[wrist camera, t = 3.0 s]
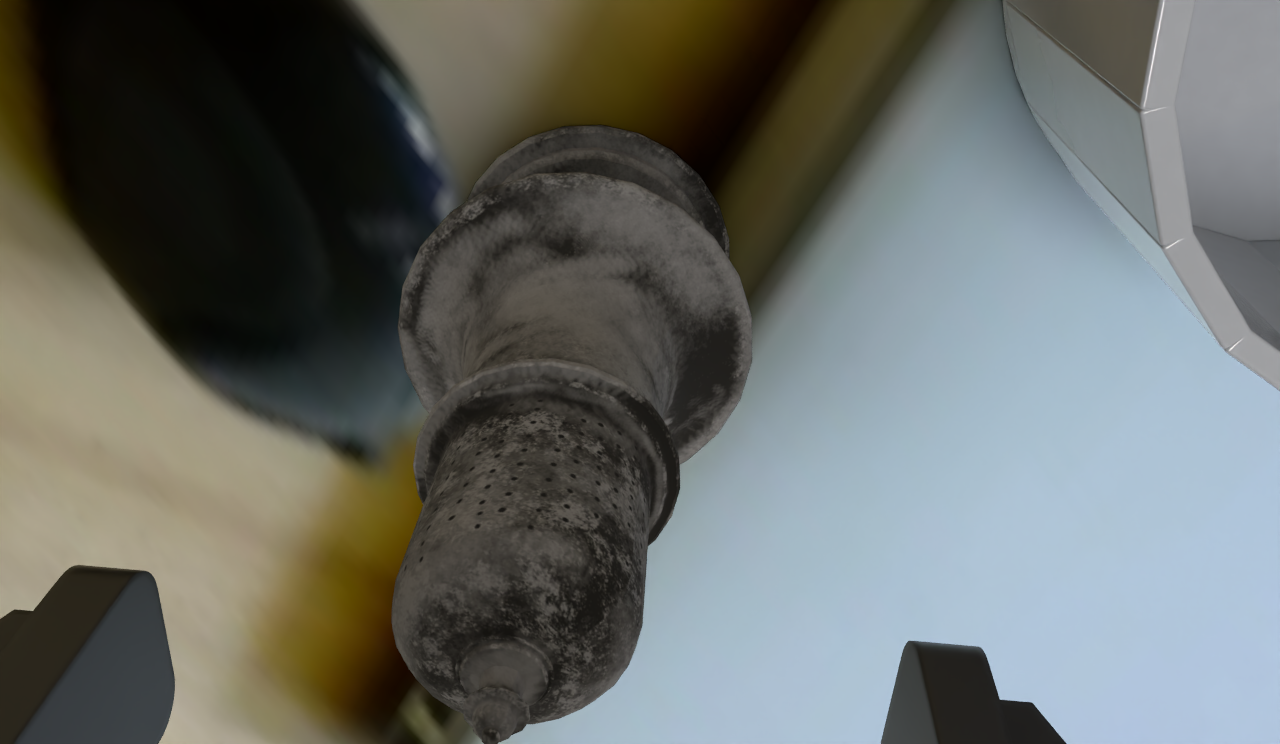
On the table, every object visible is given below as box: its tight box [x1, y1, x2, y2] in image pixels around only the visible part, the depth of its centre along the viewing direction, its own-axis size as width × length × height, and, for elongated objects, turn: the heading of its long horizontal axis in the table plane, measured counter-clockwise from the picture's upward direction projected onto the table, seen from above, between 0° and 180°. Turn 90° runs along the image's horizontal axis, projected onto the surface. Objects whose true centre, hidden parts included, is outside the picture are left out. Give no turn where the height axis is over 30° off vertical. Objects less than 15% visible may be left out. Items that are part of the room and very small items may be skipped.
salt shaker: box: [392, 125, 752, 744], centre depth 16 cm, size 6×6×12 cm
